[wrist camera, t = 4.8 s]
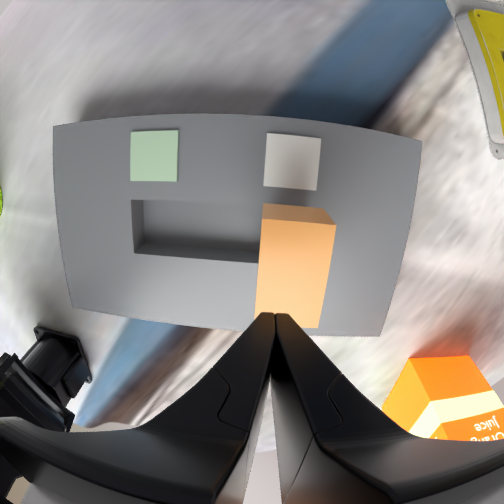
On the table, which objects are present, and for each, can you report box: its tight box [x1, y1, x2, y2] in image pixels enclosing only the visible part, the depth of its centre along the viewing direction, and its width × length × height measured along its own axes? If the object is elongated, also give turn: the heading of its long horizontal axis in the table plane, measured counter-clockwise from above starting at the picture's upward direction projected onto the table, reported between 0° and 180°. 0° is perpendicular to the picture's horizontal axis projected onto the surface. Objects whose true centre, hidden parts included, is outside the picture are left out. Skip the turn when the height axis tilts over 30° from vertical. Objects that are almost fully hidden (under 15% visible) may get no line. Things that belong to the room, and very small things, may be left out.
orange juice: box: [382, 355, 504, 441], centre depth 17 cm, size 8×9×20 cm
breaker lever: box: [254, 203, 336, 328], centre depth 16 cm, size 3×5×7 cm, turn 176°
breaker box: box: [53, 113, 422, 336], centre depth 19 cm, size 24×14×3 cm, turn 86°
